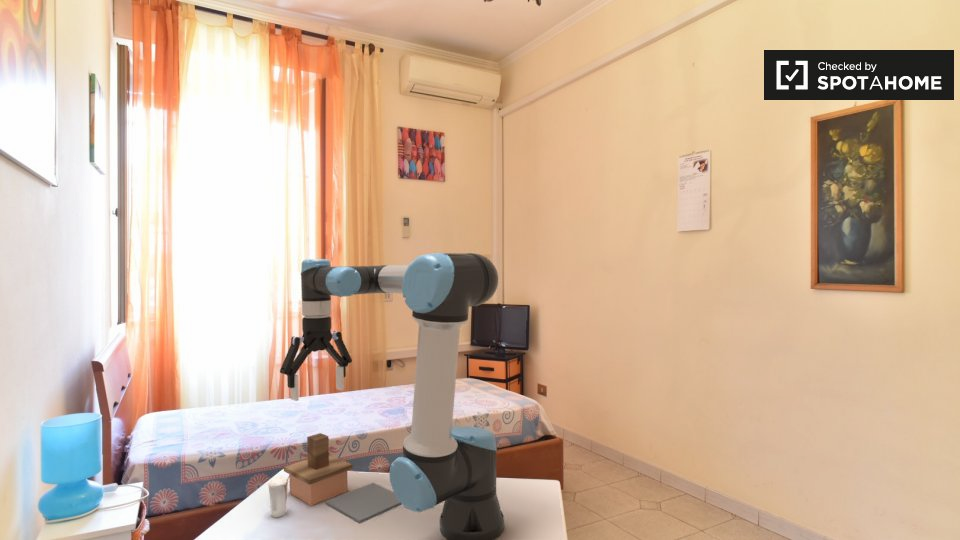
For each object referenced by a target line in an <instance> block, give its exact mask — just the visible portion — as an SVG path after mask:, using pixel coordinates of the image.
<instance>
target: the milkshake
mask: <svg viewBox="0 0 960 540" xmlns="http://www.w3.org/2000/svg"><path fill="white" fill-rule="evenodd" d="M289 476H290V475H289V474H288V477H287V478H286V477H285V476H274V477H273V478H271V479H270V480H269V481H268V483H267V485H268V493H269V503H270V512H271V514H270V515H271V516H272V517H273V518H282V517H283V516H285V515H286V513H287V496H288V486H289V485H288V484H289Z"/></svg>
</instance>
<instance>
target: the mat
mask: <svg viewBox="0 0 960 540" xmlns="http://www.w3.org/2000/svg"><path fill="white" fill-rule="evenodd" d="M324 501H325V505H326V506H329V507H330V508H332V509H334V510H335V511H338V512H339V513H341V514H343V515H344V516H345V517H348V518H349V519H351V520H353V521H355V522H356V523H358V524H361V523H363V522H365V521H368V520H370V519H372V518H374V517H376V516H379V515H380V514H383V513H385V512H387V511H390V510H392V509H394V508H396V507H398V506H402V504H401V503H400V501H399V500H398V499H397V497H396V495H395V493H394V491H391V490H390V489H388V488H385V487H384V486H381V485H379V484H377V483H375V482H371V483H369V484H367V485H363V486H361V487H357V488H355V489H354V490H351V491H349V492H348V491H347V492H345V493H342V494H340V495H339V496H338V495H337V496H335V497H332V498H330V499H327V500H324Z"/></svg>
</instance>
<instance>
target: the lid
mask: <svg viewBox="0 0 960 540" xmlns="http://www.w3.org/2000/svg"><path fill="white" fill-rule="evenodd" d="M306 439H307V442H306V443H307V445H306V446H307V459H303V460H301V461H300V460H299V461H298V462H295V463H292V464H288V465H286V466H283V472H284V473H286V474H288V475H289V474H290V475H292V476H294V477H296V478H298V479H299V480H301V481H303V482H305V483H307V484H309V485H310V484H313V483H316V482H319V481H321V480H324V479H327V478H330V477H332V476H335V475H338V474H340V473H343V472H346V471H347V472H348V471H350V470H351V471H352V470H353V464H352V463H350V462H348V461H346V460H343V459H341V458H338V457H336V456H333V455H331V454H329V452H330V450H329V449H330V447H329V444H330V443H329V436H328V435H326V434H323V433H322V432H319V433H316V434H312V435H309V436H306Z"/></svg>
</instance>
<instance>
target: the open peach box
mask: <svg viewBox="0 0 960 540" xmlns="http://www.w3.org/2000/svg"><path fill="white" fill-rule="evenodd" d="M289 475H290V474H288V477H289V479H288V484H289V494H291V495H292V496H294V497H296V498H297V499H299V500H300V501H303V502H304V503H306V504H308V505H309V506H313V505H316V504H318V503H321V502H324V501H327V500H330V499H332V498H335V497H337V496H338V495H339V496H340V495H342V494H345V493H348V489H349V488H348V485H349V484H348V471H346V472H343V473H340V474H338V475H335V476H332V477H330V478H327V479H324V480H321V481H319V482H316V483H313V484H310V485H309V484H307V483H305V482H303V481H301V480H299V479H298V478H296V477H294V476H292V475H290V476H289Z"/></svg>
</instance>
